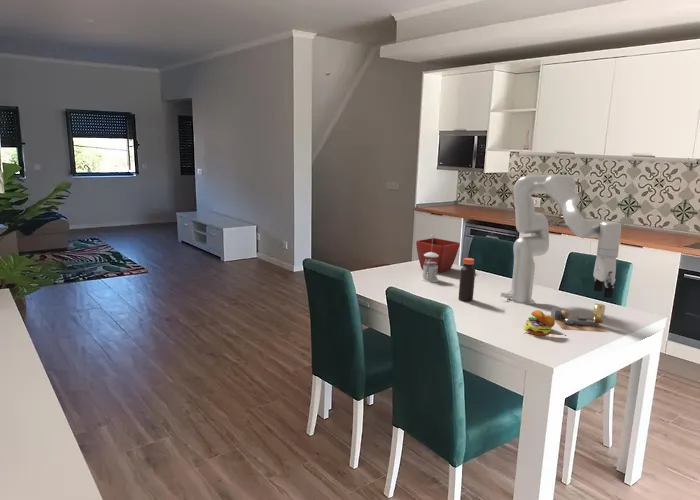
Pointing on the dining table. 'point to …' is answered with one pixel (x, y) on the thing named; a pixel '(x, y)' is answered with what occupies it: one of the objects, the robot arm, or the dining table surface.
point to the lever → (597, 318)
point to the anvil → (556, 313)
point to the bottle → (467, 280)
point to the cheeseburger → (539, 323)
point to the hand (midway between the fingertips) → (602, 294)
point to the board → (580, 326)
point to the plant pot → (438, 252)
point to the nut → (564, 314)
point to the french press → (430, 267)
